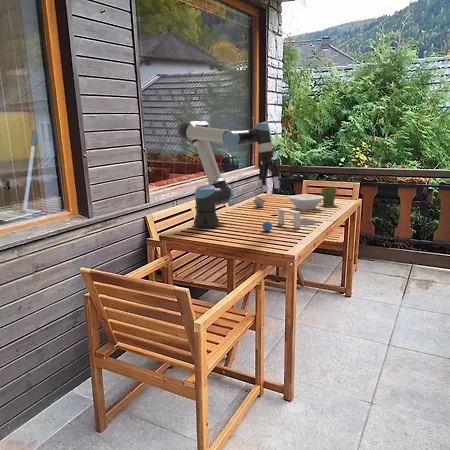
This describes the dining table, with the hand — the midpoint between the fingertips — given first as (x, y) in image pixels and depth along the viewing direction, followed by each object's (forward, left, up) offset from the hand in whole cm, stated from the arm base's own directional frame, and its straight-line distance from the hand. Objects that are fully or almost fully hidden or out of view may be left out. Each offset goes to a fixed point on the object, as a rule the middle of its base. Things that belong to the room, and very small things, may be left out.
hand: (271, 189), depth 228 cm
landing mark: (+27, -1, -23) cm, 35 cm away
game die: (+38, +53, -23) cm, 69 cm away
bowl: (+56, +25, -23) cm, 66 cm away
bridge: (+13, -1, -23) cm, 26 cm away
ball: (-4, -1, -20) cm, 20 cm away
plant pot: (+80, +25, -23) cm, 87 cm away
